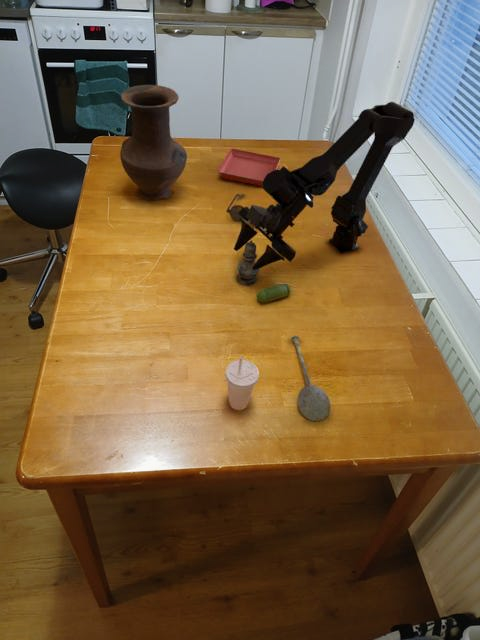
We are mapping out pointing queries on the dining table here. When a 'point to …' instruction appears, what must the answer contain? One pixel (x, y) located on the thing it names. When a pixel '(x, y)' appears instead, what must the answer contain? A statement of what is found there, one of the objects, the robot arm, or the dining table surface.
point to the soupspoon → (311, 395)
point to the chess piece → (248, 265)
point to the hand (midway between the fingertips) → (243, 259)
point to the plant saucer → (247, 166)
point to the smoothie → (241, 382)
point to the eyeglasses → (235, 210)
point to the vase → (152, 142)
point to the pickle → (273, 292)
